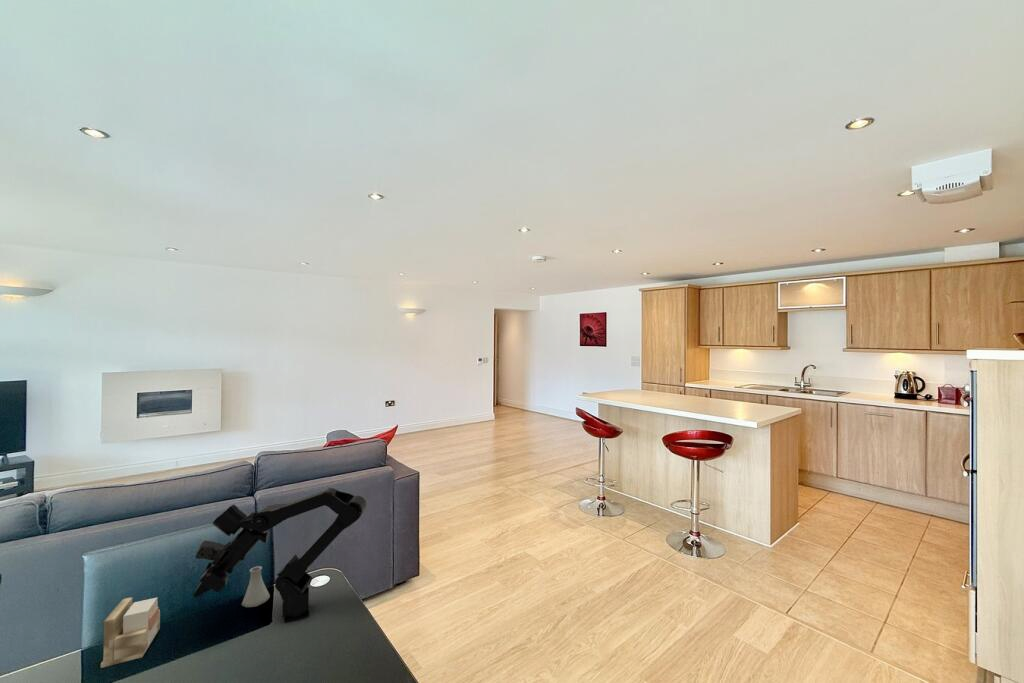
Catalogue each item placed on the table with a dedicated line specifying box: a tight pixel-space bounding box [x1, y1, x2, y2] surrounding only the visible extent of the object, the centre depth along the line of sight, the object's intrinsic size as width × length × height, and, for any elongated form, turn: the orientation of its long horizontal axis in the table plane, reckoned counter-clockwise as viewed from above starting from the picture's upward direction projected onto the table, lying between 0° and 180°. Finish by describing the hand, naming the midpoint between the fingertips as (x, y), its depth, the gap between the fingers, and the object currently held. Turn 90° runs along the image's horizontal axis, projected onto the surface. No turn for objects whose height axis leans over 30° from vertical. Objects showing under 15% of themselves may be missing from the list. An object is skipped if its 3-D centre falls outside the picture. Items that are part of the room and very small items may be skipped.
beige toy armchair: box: [100, 596, 161, 669], centre depth 109 cm, size 8×11×11 cm
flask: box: [241, 565, 271, 608], centre depth 129 cm, size 7×7×10 cm
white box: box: [123, 597, 160, 648], centre depth 110 cm, size 5×7×9 cm
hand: (194, 596), depth 115 cm, fingers closed
